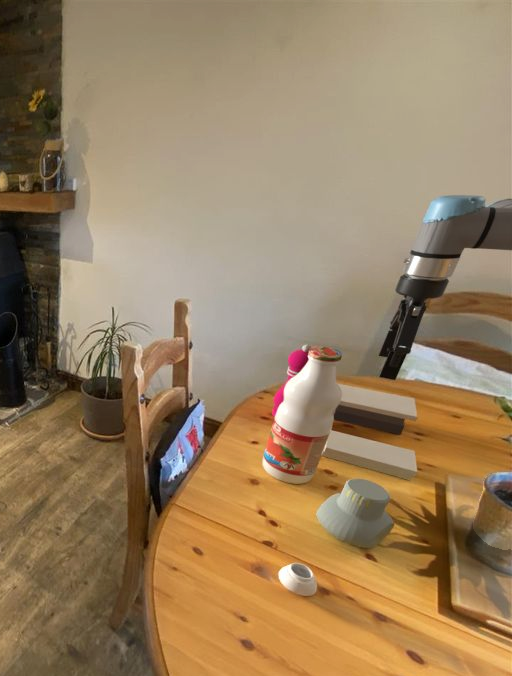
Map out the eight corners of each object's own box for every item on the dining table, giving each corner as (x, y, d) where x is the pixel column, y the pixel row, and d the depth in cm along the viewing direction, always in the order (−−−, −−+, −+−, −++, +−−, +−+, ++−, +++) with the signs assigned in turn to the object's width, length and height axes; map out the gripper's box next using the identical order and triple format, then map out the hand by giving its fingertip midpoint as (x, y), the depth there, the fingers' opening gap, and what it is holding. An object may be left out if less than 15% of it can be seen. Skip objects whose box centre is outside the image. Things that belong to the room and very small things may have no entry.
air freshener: (357, 561, 69) (379, 517, 64) (305, 528, 75) (322, 486, 71) (392, 535, 73) (415, 492, 68) (340, 506, 80) (357, 464, 75)
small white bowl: (278, 589, 65) (317, 602, 63) (283, 577, 64) (323, 590, 62) (277, 565, 69) (314, 577, 67) (282, 553, 68) (319, 564, 65)
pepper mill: (300, 411, 109) (323, 340, 99) (304, 426, 103) (329, 352, 94) (268, 407, 112) (287, 337, 102) (271, 420, 106) (291, 348, 97)
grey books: (399, 421, 102) (407, 404, 100) (400, 435, 98) (409, 417, 95) (333, 406, 110) (339, 390, 108) (331, 419, 105) (338, 402, 103)
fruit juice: (322, 486, 84) (371, 362, 71) (271, 484, 86) (310, 361, 73) (299, 457, 93) (340, 341, 80) (254, 455, 94) (286, 341, 81)
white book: (412, 402, 101) (414, 398, 100) (415, 421, 94) (417, 416, 93) (335, 387, 109) (337, 383, 108) (333, 403, 102) (334, 399, 102)
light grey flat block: (410, 459, 90) (414, 450, 89) (412, 481, 84) (417, 471, 83) (324, 437, 99) (327, 429, 97) (321, 455, 93) (324, 447, 92)
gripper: (398, 262, 98) (366, 345, 108) (404, 288, 81) (365, 384, 91) (443, 265, 93) (405, 351, 103) (458, 293, 76) (411, 393, 86)
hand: (386, 367), depth 97 cm, fingers open, 13 cm apart
